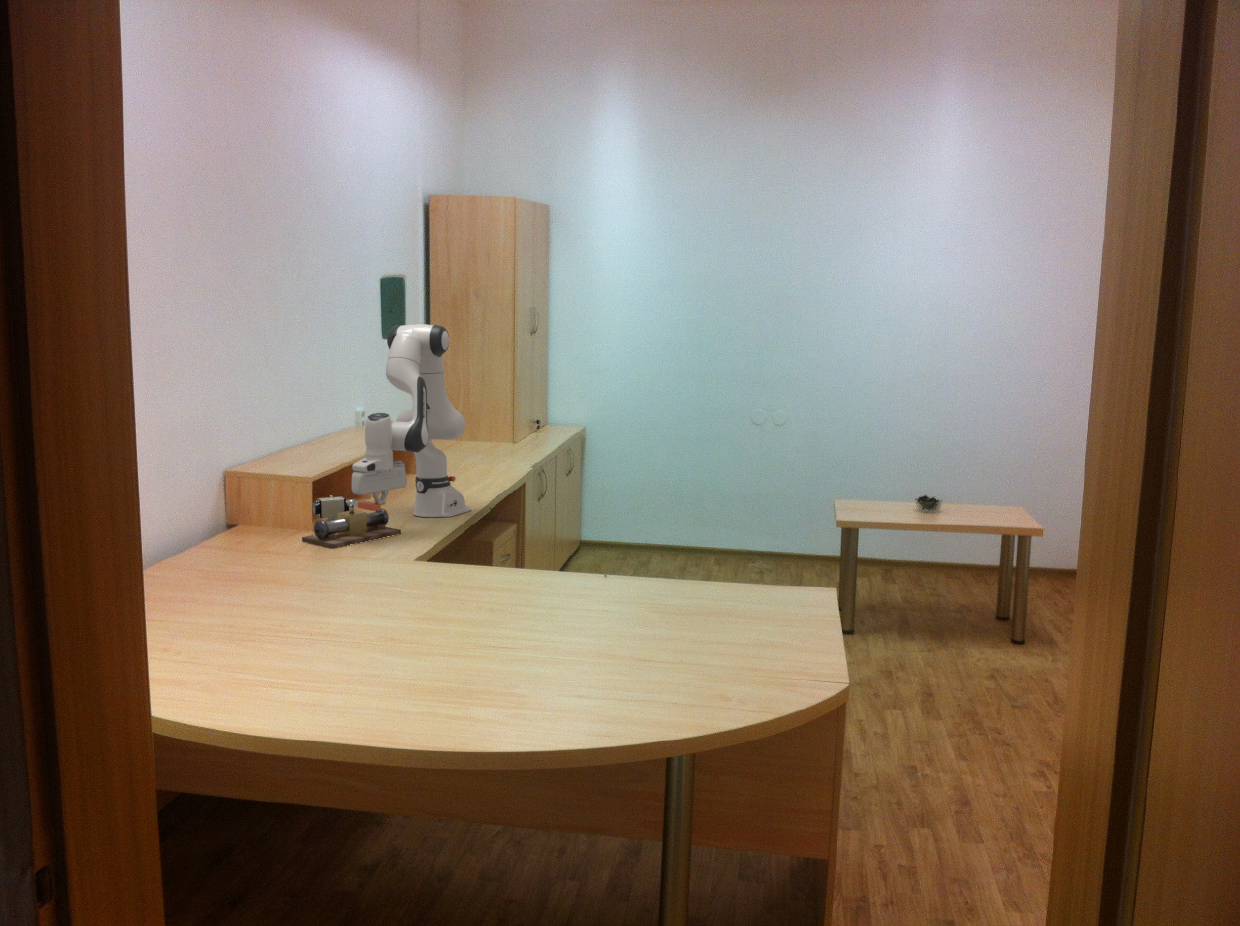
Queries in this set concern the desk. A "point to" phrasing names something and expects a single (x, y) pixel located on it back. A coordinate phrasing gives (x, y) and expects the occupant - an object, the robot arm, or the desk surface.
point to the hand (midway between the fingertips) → (380, 504)
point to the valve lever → (364, 504)
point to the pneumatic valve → (330, 507)
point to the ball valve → (350, 523)
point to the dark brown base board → (352, 537)
